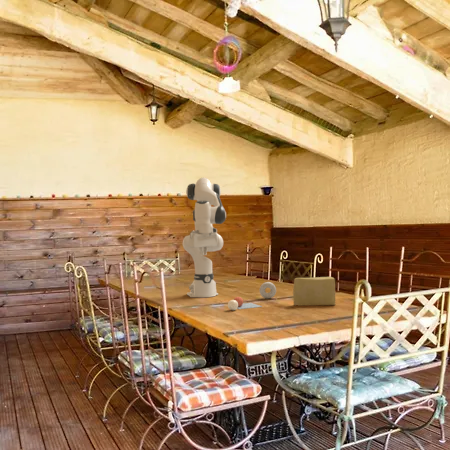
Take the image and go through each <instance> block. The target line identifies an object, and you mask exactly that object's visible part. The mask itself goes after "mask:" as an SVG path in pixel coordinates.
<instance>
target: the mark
mask: <svg viewBox="0 0 450 450" xmlns="http://www.w3.org/2000/svg"><path fill="white" fill-rule="evenodd" d="M262 307H263V305H259V304H255V303H252V302H248V303H245V302H243V305H242V306H240V307H238V308H237V309H236V310H246V309H252V308H253V309H254V308H262Z"/></svg>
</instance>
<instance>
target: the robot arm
mask: <svg viewBox="0 0 450 450" xmlns="http://www.w3.org/2000/svg"><path fill="white" fill-rule="evenodd" d="M185 193H186V197H187V199H188V200H190V201H196V202H195V205H194V209H193V210H192V220H193V221H194V230H191V232H190V233H189V235H185V236H184V238H183V240H182V247H183V250H185V251H186V252H187V253H188V254H189V255H190V256H191V258H192V260H193V264H194V276H193V277H194V278H193V281H192V283H191V284H190V285H189V286H188V289H189V290H190V291H188V292H186V294H187V296H188V297H190V298H211V297H215V296H218V295H219V293H218V292H217V285H216V284H217V283H216V280H214V273H213V261H212V259H210V258H209V257H207V254H208V253H207V252H217V251H221V250H222V248H223V246H224V239H223V237H222V236H221V235H220V234H219V233H218V229H217V228H215V227H214V224H216V225H221V224H223V223H224V222H225V221H226V220H227V219H226V218H227V212H226V210H225V208H224V206H223V203H222V201H221V198H220V196H221V193H222V190H221V186H220V185H219V184H218V183H212V182H211V181H210V179H208V178H207V177H201V178H199V179H198V180H197V181H196V182H195V183H189V184H188V185H187V187H186V190H185Z"/></svg>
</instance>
